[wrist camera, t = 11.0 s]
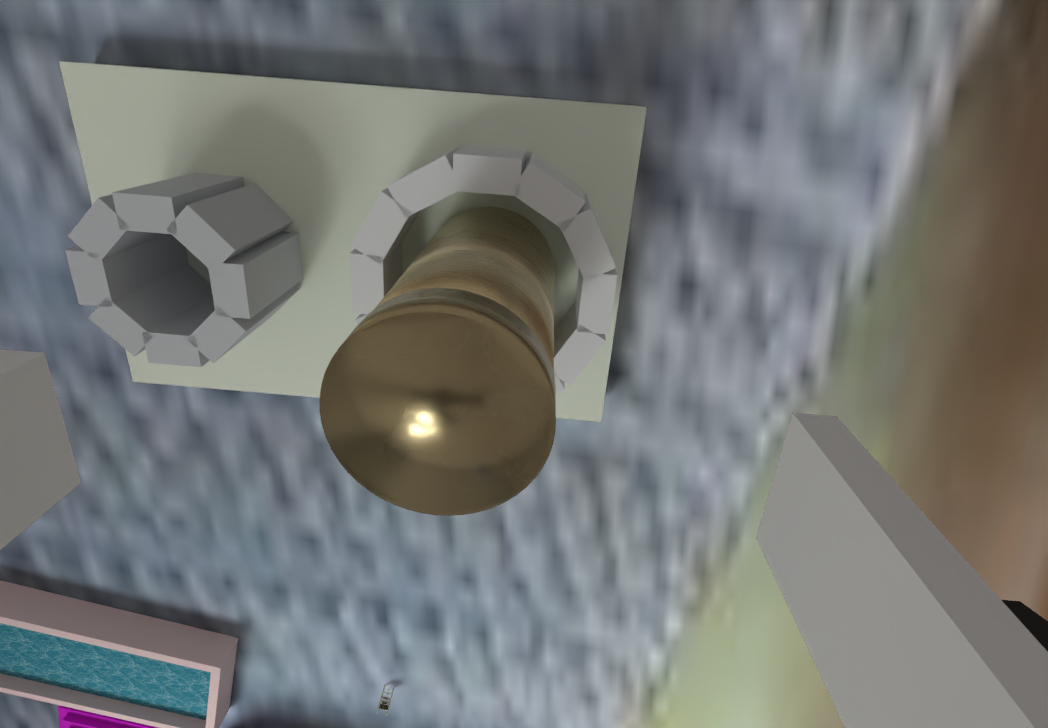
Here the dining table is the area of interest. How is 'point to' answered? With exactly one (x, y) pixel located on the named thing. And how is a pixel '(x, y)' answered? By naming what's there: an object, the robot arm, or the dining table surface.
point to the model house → (114, 663)
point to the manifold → (327, 215)
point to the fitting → (452, 372)
